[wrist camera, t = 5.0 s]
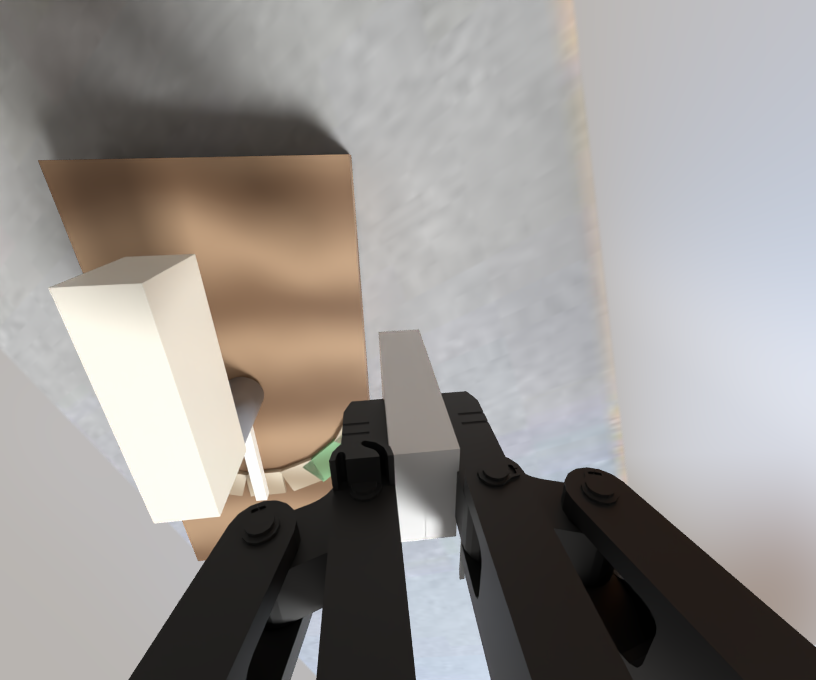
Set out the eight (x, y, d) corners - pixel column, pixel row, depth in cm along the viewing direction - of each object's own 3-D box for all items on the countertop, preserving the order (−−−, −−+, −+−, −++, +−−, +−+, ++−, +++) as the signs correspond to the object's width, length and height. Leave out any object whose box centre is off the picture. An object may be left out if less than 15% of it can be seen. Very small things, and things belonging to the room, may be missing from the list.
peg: (177, 235, 19) (48, 287, 11) (231, 233, 19) (141, 283, 11) (247, 487, 26) (198, 623, 18) (285, 483, 26) (253, 616, 19)
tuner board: (94, 160, 21) (32, 160, 17) (359, 155, 22) (358, 154, 18) (216, 517, 33) (196, 564, 29) (382, 499, 34) (384, 543, 30)
